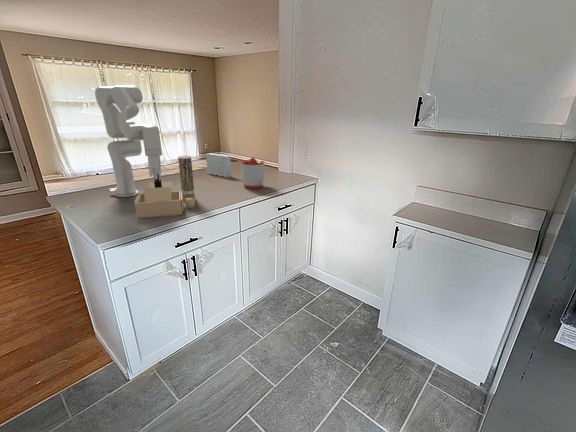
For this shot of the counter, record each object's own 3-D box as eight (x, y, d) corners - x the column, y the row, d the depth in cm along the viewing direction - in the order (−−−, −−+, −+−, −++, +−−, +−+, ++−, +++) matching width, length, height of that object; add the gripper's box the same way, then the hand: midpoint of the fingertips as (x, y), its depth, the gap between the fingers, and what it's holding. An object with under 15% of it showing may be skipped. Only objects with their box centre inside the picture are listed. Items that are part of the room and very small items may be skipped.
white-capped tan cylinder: (186, 209, 157) (185, 200, 156) (185, 206, 162) (185, 197, 160) (195, 208, 159) (194, 199, 157) (195, 205, 163) (194, 196, 161)
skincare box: (231, 176, 226) (230, 155, 220) (226, 177, 222) (225, 156, 216) (212, 172, 236) (210, 152, 230) (206, 173, 232) (205, 153, 226)
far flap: (172, 190, 160) (171, 181, 163) (172, 190, 159) (171, 181, 163) (148, 192, 156) (148, 183, 159) (148, 191, 155) (148, 182, 159)
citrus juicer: (269, 185, 206) (270, 156, 199) (257, 191, 191) (257, 160, 184) (250, 182, 212) (250, 154, 205) (237, 187, 197) (236, 158, 190)
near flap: (144, 201, 141) (143, 188, 141) (145, 202, 141) (143, 188, 141) (171, 199, 144) (170, 186, 145) (171, 200, 145) (170, 187, 145)
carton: (136, 219, 143) (134, 203, 140) (140, 208, 157) (138, 193, 154) (183, 214, 149) (182, 199, 147) (183, 204, 164) (181, 190, 161)
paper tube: (190, 196, 177) (186, 155, 168) (197, 199, 173) (193, 156, 164) (180, 199, 172) (175, 156, 163) (187, 202, 168) (182, 158, 159)
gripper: (146, 150, 147) (151, 185, 154) (143, 155, 134) (149, 193, 141) (162, 149, 150) (167, 184, 156) (161, 154, 137) (166, 192, 143)
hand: (158, 188), depth 149 cm, fingers closed
